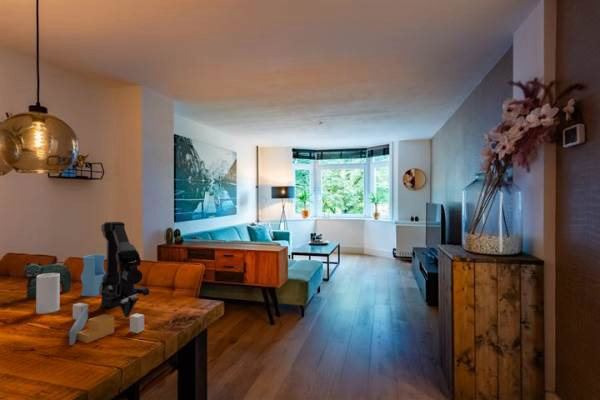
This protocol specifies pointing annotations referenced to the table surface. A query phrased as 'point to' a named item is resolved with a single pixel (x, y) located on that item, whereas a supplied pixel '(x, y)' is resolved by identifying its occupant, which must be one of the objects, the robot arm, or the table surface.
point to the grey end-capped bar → (78, 326)
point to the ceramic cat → (36, 270)
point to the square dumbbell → (135, 319)
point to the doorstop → (97, 328)
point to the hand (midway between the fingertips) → (126, 316)
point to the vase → (92, 274)
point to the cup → (47, 293)
